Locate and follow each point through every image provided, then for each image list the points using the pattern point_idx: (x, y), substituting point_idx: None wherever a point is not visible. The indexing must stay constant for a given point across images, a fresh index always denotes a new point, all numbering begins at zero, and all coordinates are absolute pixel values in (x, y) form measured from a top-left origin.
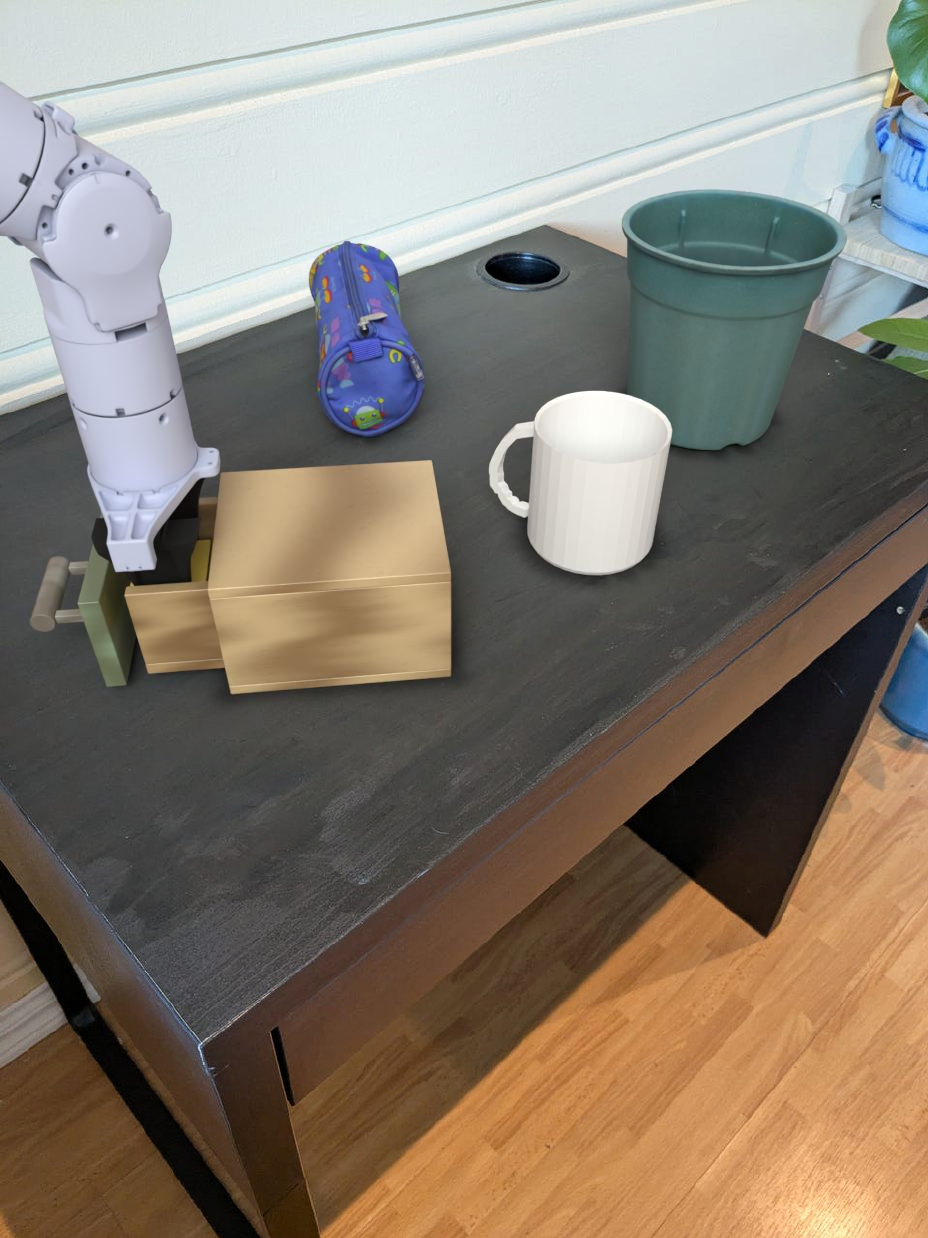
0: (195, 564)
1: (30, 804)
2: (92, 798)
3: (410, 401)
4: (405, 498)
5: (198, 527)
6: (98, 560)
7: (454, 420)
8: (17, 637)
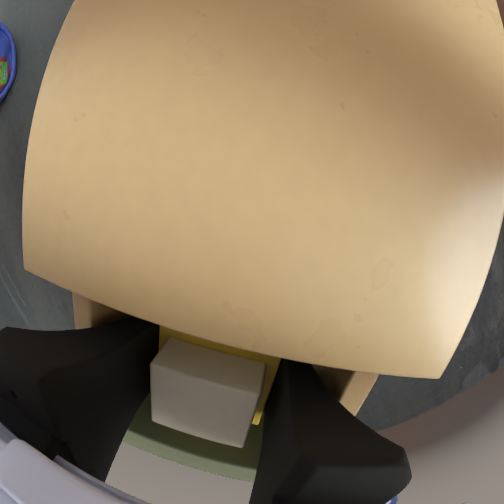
0: None
1: (396, 423)
2: (417, 391)
3: (3, 34)
4: None
5: (368, 469)
6: (229, 471)
7: (32, 14)
8: None
